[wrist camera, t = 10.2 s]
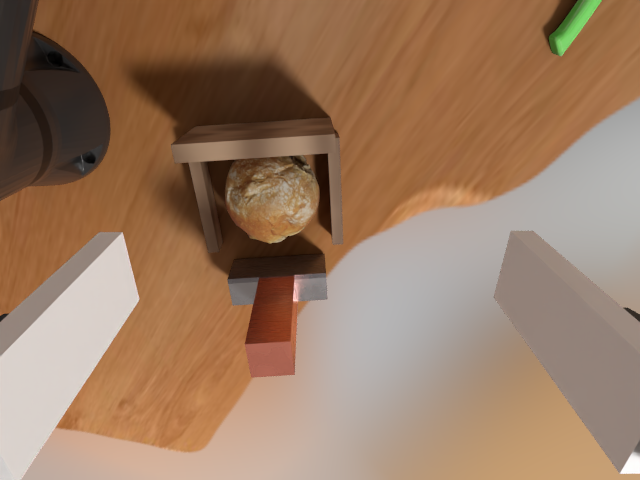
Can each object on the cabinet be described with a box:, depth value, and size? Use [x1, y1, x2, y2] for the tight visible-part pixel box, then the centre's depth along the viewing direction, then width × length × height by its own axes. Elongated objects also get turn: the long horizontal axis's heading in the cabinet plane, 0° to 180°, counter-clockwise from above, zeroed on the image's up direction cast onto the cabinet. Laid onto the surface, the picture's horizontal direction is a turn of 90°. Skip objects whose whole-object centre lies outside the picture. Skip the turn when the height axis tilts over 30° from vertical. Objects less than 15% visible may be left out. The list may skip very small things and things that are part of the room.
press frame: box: [171, 117, 343, 253], centre depth 39 cm, size 15×14×8 cm
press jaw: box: [228, 254, 327, 377], centre depth 41 cm, size 11×4×15 cm, turn 93°
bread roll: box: [225, 155, 319, 243], centre depth 40 cm, size 10×10×8 cm
